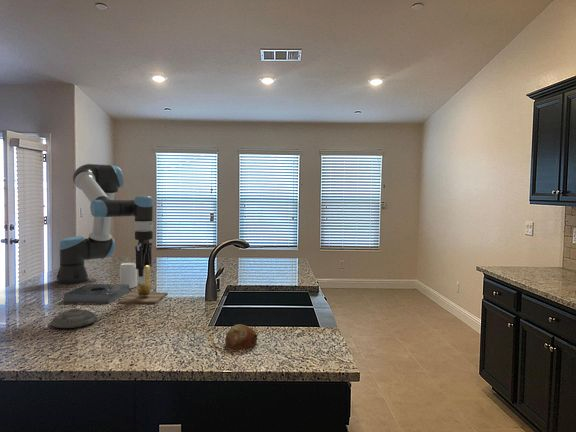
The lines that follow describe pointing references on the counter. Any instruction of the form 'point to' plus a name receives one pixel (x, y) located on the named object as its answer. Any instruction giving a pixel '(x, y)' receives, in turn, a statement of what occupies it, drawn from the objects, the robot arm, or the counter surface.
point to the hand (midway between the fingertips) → (144, 282)
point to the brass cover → (145, 288)
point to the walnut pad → (143, 298)
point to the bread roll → (240, 337)
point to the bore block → (96, 293)
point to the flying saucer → (73, 319)
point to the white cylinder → (128, 274)
